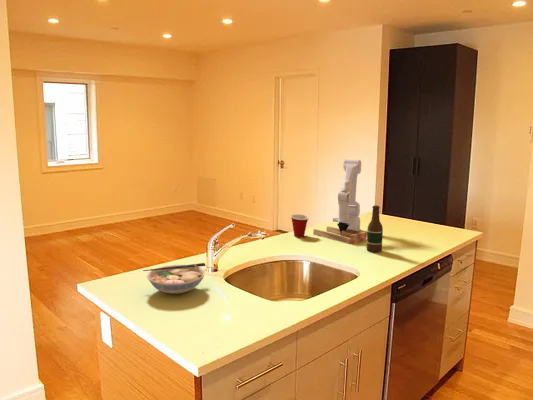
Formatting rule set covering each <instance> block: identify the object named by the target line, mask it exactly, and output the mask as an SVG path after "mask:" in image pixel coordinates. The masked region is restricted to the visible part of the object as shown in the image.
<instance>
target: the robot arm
mask: <svg viewBox="0 0 533 400" xmlns="http://www.w3.org/2000/svg"><path fill="white" fill-rule="evenodd" d="M343 170H344V172H345V176H344V177H345V178H344V180H343V181H342V183H341V187H340V191H339V192H338V193H337V203H338V217H333V218H332V222H334V223H335V222H336V223H337V227H338V229H340V233H341V231H342V230H347V229H351V230H355V231H358V232H360V231H362V229H361V218H360V213H361V206H360V203H359V202H358V201H356V198H357V197H356V196H357V183H358V176H359V174H361V172H362V160H361V159H344V161H343Z"/></svg>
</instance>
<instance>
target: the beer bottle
mask: <svg viewBox="0 0 533 400" xmlns="http://www.w3.org/2000/svg"><path fill="white" fill-rule="evenodd" d="M380 207H381V206H380V205H373V206H372V214H371V221H370V222H369V223H368V226H367V229H366V232H367V241H366V251H367V252H369V253H372V252H373V253H374V254H377V253H378V252H379V253H381V252H382V249H383V234H384V233H383V230H384V228H383V224H382V223H381V220H380V209H381V208H380ZM379 253H378V254H379Z"/></svg>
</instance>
